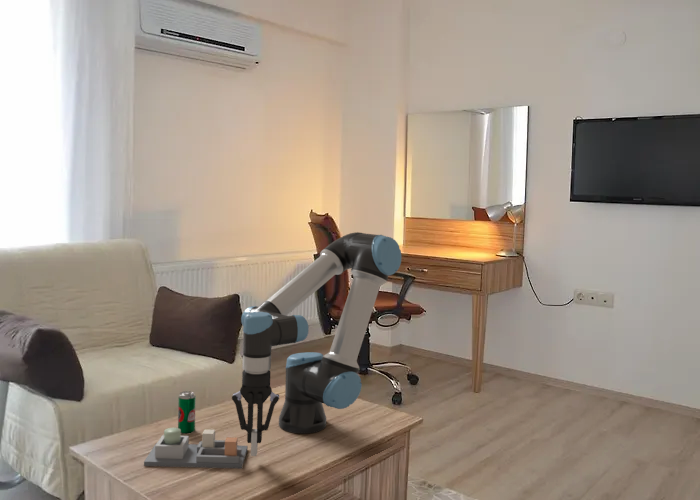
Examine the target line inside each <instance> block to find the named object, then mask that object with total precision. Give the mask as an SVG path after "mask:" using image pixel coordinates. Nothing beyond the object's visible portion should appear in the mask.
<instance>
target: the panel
mask: <svg viewBox="0 0 700 500" xmlns="http://www.w3.org/2000/svg"><path fill="white" fill-rule="evenodd" d="M189 438H190V437H189V435H181V441H180V442H179V443H177V444H166V443H164V434H162V435H161V437H160V438H159V439H158V441H157V442H156V443H155V444H154V446H152V449H151V450H150V452H149V453H148V455H147V456H146V458H145V460H144V461H143V466H144V467H166V468H167V467H172V468H173V467H174V468H213V469H214V468H215V469H243V465H244V463H245V460H246V455H247V452H248V445H241V444H239V445H238V444H237V456H225V440H226V439H225V440H223V439H222V440H221V439H219V440H218V439H215V447H202V440H201V441H199V442H198V443H197V444H196V443H193V444H192V443H190V441H189V440H190V439H189Z"/></svg>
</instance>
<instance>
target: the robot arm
mask: <svg viewBox="0 0 700 500" xmlns="http://www.w3.org/2000/svg"><path fill="white" fill-rule="evenodd" d="M401 264H402V251H401V249H400V245H399V243H398V241H396V240H395V238H393V237H391V236H386V235H384V234H372V233H366V232H365V233H364V232H358V231H357V232H350V233H348V234H345V235H343V236H341V237H339V238H337V239H336V240H334V241H333V242H330V244H328V245H327V246H326V247H324V248H323V249H322V250H321V251H320V253H319V257H318V258H316V259H315V260H314V261H312V262H311V263H310V264H309V265H307V266H306V267H305V268H304V269H303V270H301V271H300V272H299V273H298V274H297V275H296V276H294V277H293V278H292V279H291V280H289V281H288V282H287V283H286V284H284V285H283V286H282V287H281V288H280V289H278V290H277V291H276V292H275V293H274V294H272V295H271V296H270V297H268V299H266V300H265V301H264V302H263V303H261V304H260V305H259V306H256V305H253V306H252V305H251V306H248V307H247V308H245V310H243V312H242V314H241V320H240V321H241V325H242V327H243V328H242V331H243V333H242V334H243V337H242V338H243V339H242V342H243V345H242V373H241V374H242V375H241V377H242V378H241V381H242V382H241V387H240V389H239V391H237V392H233V394H232V396H231V400H232V401H233V402H234V405H235V408H236V414H237V418H238V423H239V426H240V429H241V430H242V431H246V432H247V435H246V441H247V443H248V444H250V457H257V454H258V444H261V443H262V440H263V432H264V431H268V430H269V427H270V424H271V423H270V422H271V420H272V416H273V413H274V409H275V407H276V404H277V403H278V402H279V400H280V395H279V394H278V393H275V392H273V390H272V388H271V368H272V367H271V366H272V347H277V346H283V345H289V344H296V343H299V342H302V341H304V340H306V338H308V335H309V327H310V326H309V323H308V320H307V319H306V318H305V317H304V315H301V314H296V315H295V314H293V315H289V314H291V313H292V312H293V311H294V310H296V309H297V307H299V306H300V305H301V304H302V303H304V302H305V301H306V300H307V299H308V298H310V297H312V295H313V294H315V292H316V291H318V290H319V289H320V288H321V287H323V286H324V285H325V284H326V283H327V282H329V280H330V279H333V277H334V276H335V275H337V276H338V275H341V274H343V272H345V271H346V270H347V271H348V270H350V272H351V274H352V276H353V278H352V282H351V285H350V287H349V288H350V289H349V291H348V295H347V298H346V299H345V300H346V301H345V304H344V306H343V309H342V313H341V315H340V318H339V321H338V325H337V328H336V332H335V335H334V337H333V340H332V344H331V346H330V348H329V351H328V352H327V353H326V354H323V353H321V352H313V351H311V352H307V351H306V352H298V353H292V354H290V355H289V356H288V357H287V358H286V364H285V385H284V386H285V390H284V391H285V392H284V393H285V394H284V396H285V397H284V403H283V405H282V408H281V410H280V414H279V417H278V426H279V427H280V428H281V430H283V431H285V432H289V433H294V434H313V433H317V432H320V431H323V430H324V429H325V428H326V427H327V416H326V415H327V414H326V413H325V408H324V405H325V406H326V407H330V408H334V409H337V410H343V409H347V408H348V407H349V406H351V405H353V404H354V403H355V402H356V401H357V399H358V397H359V396H360V393H361V391H362V385H363V384H362V379H361V377H360V375H359V374H358V373H359V370H360V365H359V363H358V361H357V360H358V358H359V357H358V356H359V353H360V351H361V347H362V344H363V341H364V339H365V335H366V332H367V329H368V325H369V322H370V319H371V315H372V312H373V309H374V306H375V303H376V300H377V297H378V295H379V290H380V289H381V288H380V287H381V286H382V285H385V284H387V282H388V279H389V277H390V276H392V275H394V274H395V273H396V272H398V270H399V269H400V267H401ZM269 397H270V398H269ZM242 398H243V399H244V400H245V402H246V403H247V421H246V418H245V417H246V415H245V412H244V409H243V408H244V407H243V404H242ZM268 398H269V401H270V405H269V407H268V408H269V409H268V412H267V414H266V419H265V422H264V424H263V420H264V419H263V416H264V415H263V413H264V403H266V401H267V399H268ZM323 404H324V405H323ZM254 405H257V414H256V415H257V416H256V417H257V419H256V428H253V427H254Z"/></svg>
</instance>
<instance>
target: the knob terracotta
mask: <svg viewBox="0 0 700 500" xmlns="http://www.w3.org/2000/svg"><path fill="white" fill-rule="evenodd" d="M238 438H239V437H234V436H233V437H228V436H226V438H225V456H237V445H238Z"/></svg>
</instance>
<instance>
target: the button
mask: <svg viewBox="0 0 700 500" xmlns="http://www.w3.org/2000/svg"><path fill="white" fill-rule="evenodd" d="M163 435H164V443H166V444H177V443H179V442H180V441H181V436H182V433H181V430H180V429H179V428H178V427H169V428H165V429H164V431H163Z"/></svg>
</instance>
